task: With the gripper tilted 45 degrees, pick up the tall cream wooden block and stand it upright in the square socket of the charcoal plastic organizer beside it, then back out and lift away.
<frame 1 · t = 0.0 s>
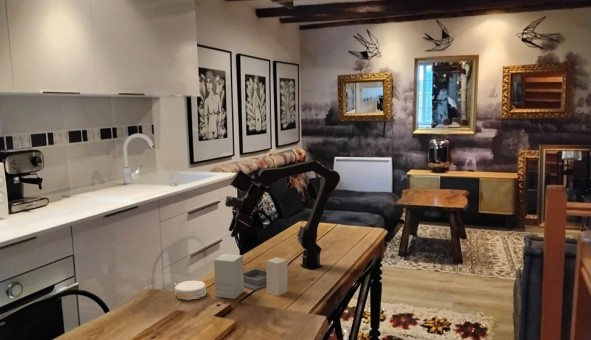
hand: (230, 233, 177), 15 cm above the table, tool tilted 35°, fingers open, 9 cm apart
supplement box: (229, 294, 157), on the table
organizer: (256, 281, 169), on the table
white round disc: (190, 296, 157), on the table
cream block: (277, 292, 159), on the table
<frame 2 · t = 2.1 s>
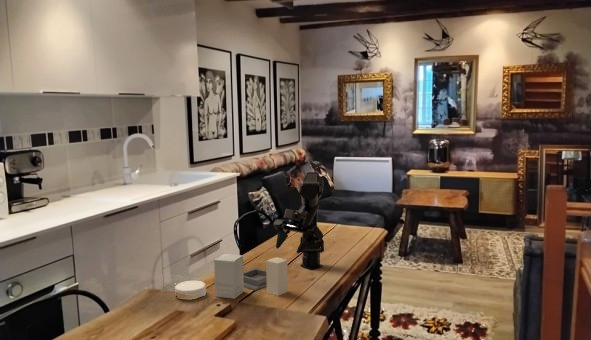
hand: (286, 250, 161), 13 cm above the table, tool tilted 45°, fingers open, 9 cm apart
nothing on the table moved.
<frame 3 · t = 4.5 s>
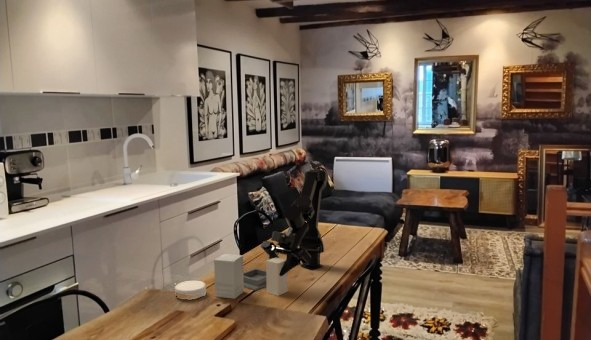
hand: (274, 273, 157), 7 cm above the table, tool tilted 45°, fingers closed on cream block, 5 cm apart
cream block: (277, 291, 159), on the table, touching gripper
everything else where it was.
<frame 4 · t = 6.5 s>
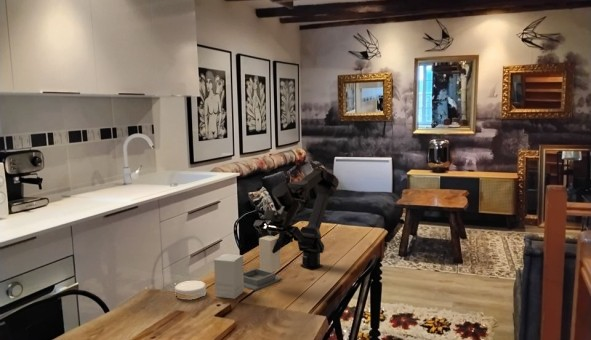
hand: (267, 251, 160), 13 cm above the table, tool tilted 45°, fingers closed on cream block, 5 cm apart
cream block: (270, 269, 162), point 7 cm above the table, touching gripper
everything else where it was.
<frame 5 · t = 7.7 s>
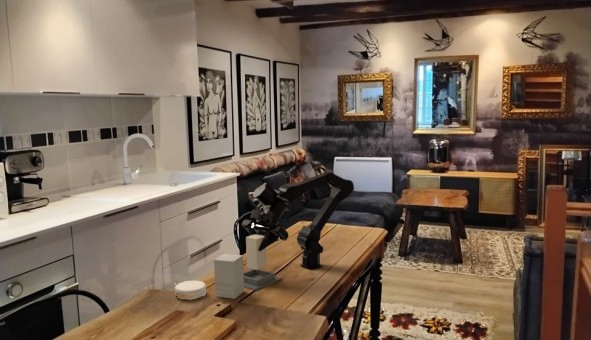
hand: (253, 249, 167), 12 cm above the table, tool tilted 45°, fingers closed on cream block, 5 cm apart
cream block: (256, 266, 169), point 5 cm above the table, touching gripper
everything else where it was.
when the fingers open (8 cm above the table, at t = 8.8 s): cream block drops 1 cm, resting on organizer.
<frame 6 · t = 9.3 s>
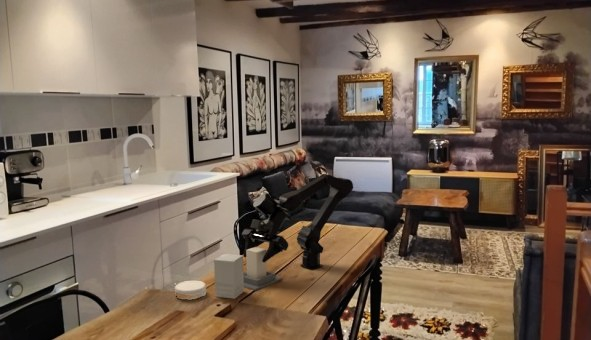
hand: (253, 259, 167), 8 cm above the table, tool tilted 45°, fingers open, 9 cm apart
cream block: (256, 279, 169), point 1 cm above the table, touching organizer
everything else where it was.
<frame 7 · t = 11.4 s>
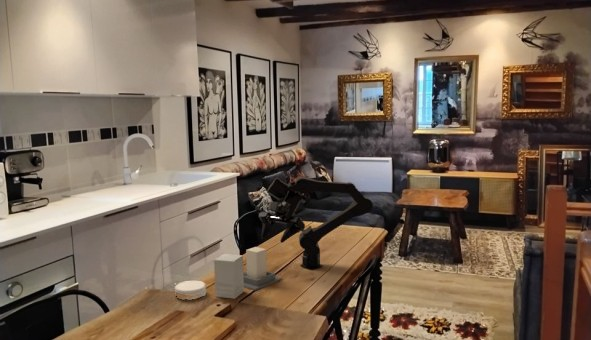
hand: (271, 240, 173), 14 cm above the table, tool tilted 45°, fingers open, 9 cm apart
nothing on the table moved.
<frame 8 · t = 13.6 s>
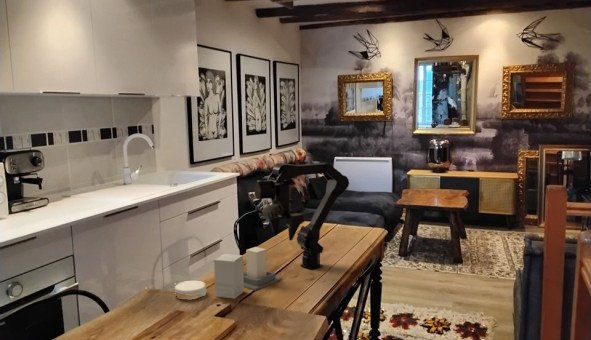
hand: (282, 237, 178), 13 cm above the table, tool pointing down, fingers open, 9 cm apart
nothing on the table moved.
at the end: cream block 0.0 cm off-centre on the organizer, point 0.6 cm above the organizer's base; cream block tilted 0°; the gripper is holding nothing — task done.
